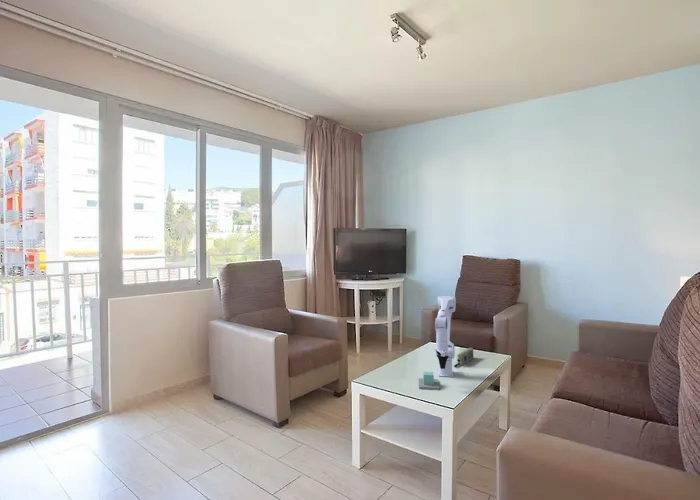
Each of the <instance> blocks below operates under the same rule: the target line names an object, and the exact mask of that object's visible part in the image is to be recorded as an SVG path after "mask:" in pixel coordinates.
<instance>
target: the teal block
mask: <svg viewBox="0 0 700 500" xmlns="http://www.w3.org/2000/svg"><path fill="white" fill-rule="evenodd" d="M434 374H435V373H434V371H422V376H423V378H422V379H423V382H424V385H434V379H435V377H434V376H435V375H434Z"/></svg>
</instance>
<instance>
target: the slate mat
mask: <svg viewBox="0 0 700 500" xmlns="http://www.w3.org/2000/svg"><path fill="white" fill-rule="evenodd" d="M418 389H419V390H435V391H439V390H440V385H439V379H437V378H434V385H424V382H423V378H418Z"/></svg>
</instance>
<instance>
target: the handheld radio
mask: <svg viewBox="0 0 700 500" xmlns="http://www.w3.org/2000/svg"><path fill="white" fill-rule="evenodd" d="M456 355H457V356H456V359H457V362H456V364H454V366H453V367H454V368H457V367H458V366H459V365H461V366H463V365H464V364H467V363H468V362H469V360H470V361H471V360H472V358H473V359H474V358H475V357H474V347H468V348H467V349H465V350H464V351H461V352H459V353H458V354H456Z"/></svg>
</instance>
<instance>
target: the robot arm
mask: <svg viewBox="0 0 700 500" xmlns="http://www.w3.org/2000/svg"><path fill="white" fill-rule="evenodd" d="M456 301H457V298H456V296H455V295H453V296H452V295H451V296H449V295H448V296H447V295H438V296H437V309H438V312H437V316H436V317H435V319H434V328H435V335H436V336H435V338H436V339H435V341H436V342H435V345H436V346H435V347H434V348H433V351H435V356H436V358H437V359H438V369H437V375H438V377H447V378H448V377H450V378H451V377H453V378H454V373H453V359H454V358H455V354H456V353H455V351H456V350H455V344H454V343H453V342H452V341H451V322H452V321H451V318H452V314H453V313H454V312H456V308H457V306H456V304H457V302H456Z"/></svg>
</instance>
